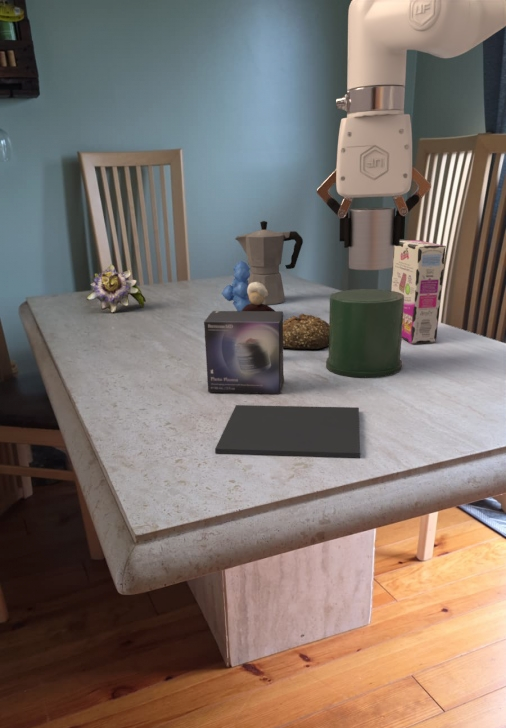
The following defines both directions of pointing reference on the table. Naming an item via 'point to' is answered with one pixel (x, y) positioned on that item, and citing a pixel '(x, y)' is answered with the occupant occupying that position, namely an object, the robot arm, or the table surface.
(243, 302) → the grapes
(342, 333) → the green flanged canister
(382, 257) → the steel cup
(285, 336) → the bread roll
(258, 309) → the grandmother figurine
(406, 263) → the candy bar box
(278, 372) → the small box
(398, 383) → the table surface
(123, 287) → the passion flower
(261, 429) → the mat
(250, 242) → the coffeepot
